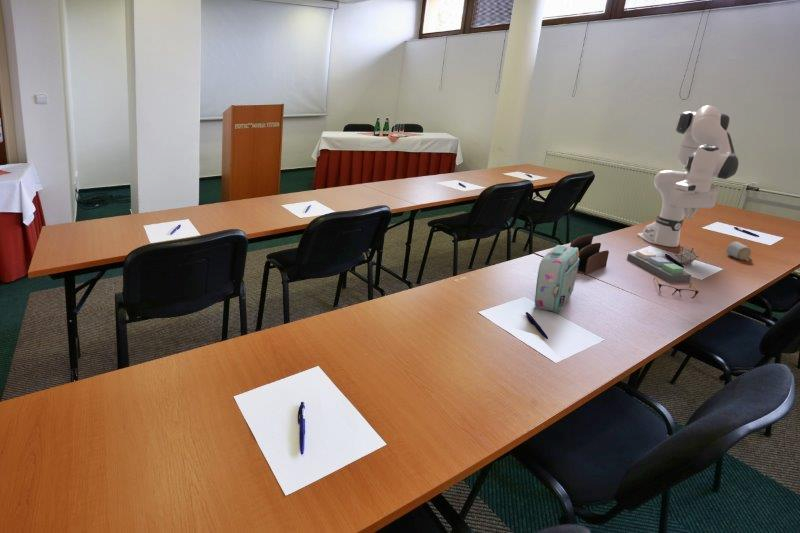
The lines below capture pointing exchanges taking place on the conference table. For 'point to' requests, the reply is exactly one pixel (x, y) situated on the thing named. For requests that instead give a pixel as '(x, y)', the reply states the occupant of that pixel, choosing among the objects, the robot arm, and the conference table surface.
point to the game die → (686, 256)
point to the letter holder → (589, 254)
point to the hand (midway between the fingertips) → (688, 217)
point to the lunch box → (556, 278)
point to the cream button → (645, 254)
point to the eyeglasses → (677, 289)
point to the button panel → (658, 269)
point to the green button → (672, 268)
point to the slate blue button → (658, 261)
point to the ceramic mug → (739, 251)
